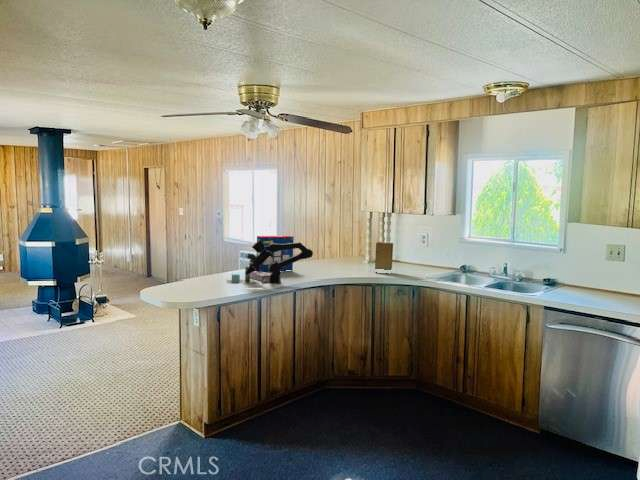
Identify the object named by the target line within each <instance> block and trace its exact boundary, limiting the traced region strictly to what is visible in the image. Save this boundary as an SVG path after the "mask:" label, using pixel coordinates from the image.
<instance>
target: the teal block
mask: <svg viewBox="0 0 640 480" xmlns="http://www.w3.org/2000/svg"><path fill="white" fill-rule="evenodd" d="M231 280H232V282H240V280H241V279H240V273H239V272H238V273H237V272H236V273H233V272H232V273H231Z"/></svg>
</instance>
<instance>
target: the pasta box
mask: <svg viewBox="0 0 640 480" xmlns="http://www.w3.org/2000/svg"><path fill="white" fill-rule="evenodd" d="M294 238H295V236H292V235H257V236H256V242H258V241H259V240H260V241H261V243H262V244H263V245H264V246H265V245H269V244H270V243H276V244H288V243H294V240H295V239H294ZM264 249H265V248H264ZM265 250H266V249H265ZM263 251H264V250H263ZM263 251H262V252H263ZM266 251H269V250H266ZM262 252H261V253H262ZM269 252H270V251H269ZM270 253H272V254H273V258H272V257H271V256H269V257H268V258H267V259H266V260H265V261H264V263H262V264H261V265H260V270H259V271H257V272H269V273H272V272H271V271H270V270H269V268H268V267H269V264H271V262H274V261H276V260H277V262H281V261H283V260H285V259H288V258H290V257H292V256H294V249H285V250H280V251H277V252H270ZM259 254H260V253H259V252H258V253H257V252H256V256H257V255H259ZM293 264H294V262H293V263H291V264H289V265H286V266H284V267H282V268H281V269H280V270H279V271H286V270H293V266H294V265H293Z"/></svg>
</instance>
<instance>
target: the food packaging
mask: <svg viewBox="0 0 640 480" xmlns="http://www.w3.org/2000/svg"><path fill="white" fill-rule="evenodd" d="M375 244H376V245H375V261H374V265H375V266H374V270H375V269H384V270H391V269H392V270H393V256H394V242H385V241H383V242H382V241H377V242H376V243H375Z"/></svg>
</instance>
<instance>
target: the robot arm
mask: <svg viewBox="0 0 640 480" xmlns="http://www.w3.org/2000/svg"><path fill="white" fill-rule="evenodd" d="M251 248H252V249H253V250H254V251H255V252H256V255H255V254H254V253H250V252H248V254H247V255H246V258H247V259H250V260H249V265H248V267H250V268H249V269H248V270H247V272H246V273H245V272H244V273H245V274H246V275H247V274H249V273H252V272H256V271H259V270H260V265H261V264H262V263H264V261H265V260H266V259H267V258H268V257H269V256H271V257H272V258H273V254H272V253H270V252H277V251H280V250H285V249H293V250H294V249H298V250H300V252H299V253H297V254H294V255H293V256H292V257H290V258H288V259H285V260H283V261H281V262H277V260H276V261H274V262H271V264H269V267H268V268H269V270H270V271H271V272H270V274H271V276H270V282H269V284H273V285H275V284H277V285H279V284H281V283H282V281H281V279H282V278H281V276H282V275H281V273H282V272H280V271H279V270H280V269H281V268H282V267H284V266H286V265H289V264H291V263H293V264H294V263H295V262H298V261H300V260H306V259H310V258H312V257H313V255H314V252H313V250H311V249H310V248H308V247H306V246H305V245H303V244H302V242H299V241H298V242H293V243H288V244H276V243H270V244H269V245H265V246H264V245H263V244H262V243H261V241H260V240H259V241H258V242H257V241H256V242H255V243H254V244H253V245H252V246H251ZM264 248H265V249H266V250H269V251H270V252H269V251H266V250H265V249H264ZM263 250H264V251H263ZM262 251H263V252H262ZM258 252H259V253H260V254H259V255H257V253H258ZM261 252H262V253H261Z"/></svg>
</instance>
